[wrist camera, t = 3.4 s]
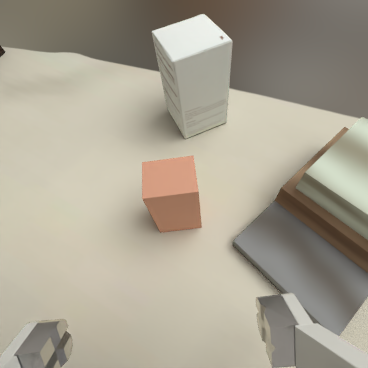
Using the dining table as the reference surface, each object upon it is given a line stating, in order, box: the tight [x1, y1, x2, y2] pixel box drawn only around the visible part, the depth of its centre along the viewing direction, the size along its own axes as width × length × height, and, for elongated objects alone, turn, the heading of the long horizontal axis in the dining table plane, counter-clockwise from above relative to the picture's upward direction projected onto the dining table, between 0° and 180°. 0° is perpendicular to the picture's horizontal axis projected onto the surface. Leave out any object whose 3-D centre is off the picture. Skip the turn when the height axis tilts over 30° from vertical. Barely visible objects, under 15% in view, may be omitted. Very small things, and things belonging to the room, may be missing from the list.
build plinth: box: [232, 117, 368, 336], centre depth 24 cm, size 20×12×8 cm, turn 131°
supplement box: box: [152, 14, 232, 139], centre depth 33 cm, size 7×7×13 cm
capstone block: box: [142, 156, 201, 233], centre depth 26 cm, size 4×5×9 cm
